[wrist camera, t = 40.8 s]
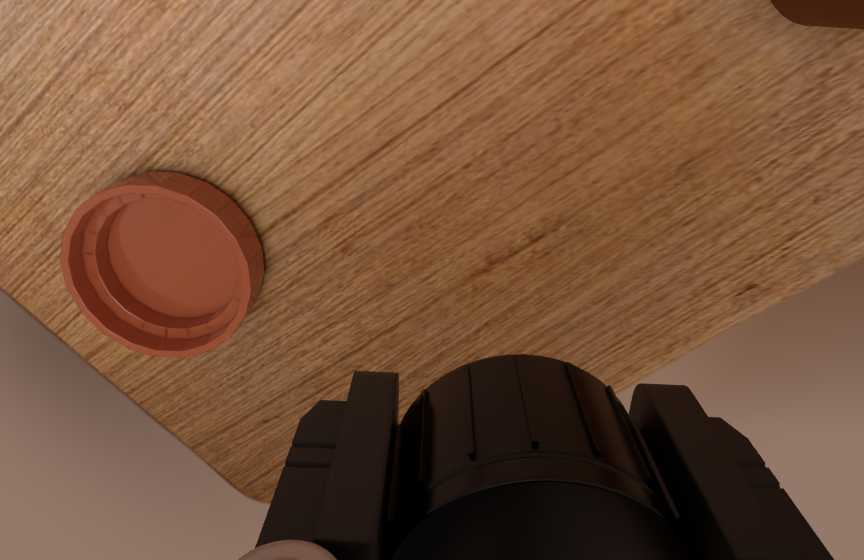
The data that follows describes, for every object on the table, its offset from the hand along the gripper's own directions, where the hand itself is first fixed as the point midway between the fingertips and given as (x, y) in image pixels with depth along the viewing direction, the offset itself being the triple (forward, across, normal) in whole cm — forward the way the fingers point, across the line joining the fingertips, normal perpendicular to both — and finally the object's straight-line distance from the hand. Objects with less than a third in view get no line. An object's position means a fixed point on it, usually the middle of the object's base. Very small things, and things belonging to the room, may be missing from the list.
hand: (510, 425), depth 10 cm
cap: (-3, 0, 0) cm, 3 cm away
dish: (+28, +18, +8) cm, 34 cm away
